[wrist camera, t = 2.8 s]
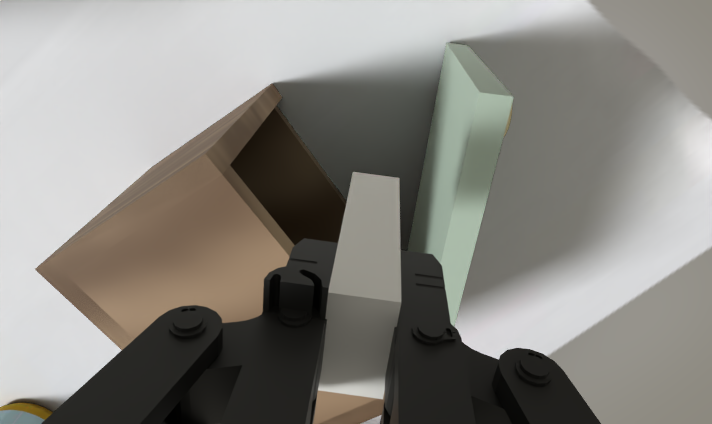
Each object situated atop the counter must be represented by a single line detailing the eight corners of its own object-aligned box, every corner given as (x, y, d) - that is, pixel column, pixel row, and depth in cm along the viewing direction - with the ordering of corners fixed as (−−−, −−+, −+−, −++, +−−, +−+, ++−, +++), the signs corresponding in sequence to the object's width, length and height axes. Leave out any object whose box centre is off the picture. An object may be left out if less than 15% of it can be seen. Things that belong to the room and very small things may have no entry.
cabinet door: (446, 42, 28) (479, 92, 17) (489, 48, 28) (548, 101, 17) (404, 267, 35) (409, 399, 24) (438, 272, 35) (459, 405, 24)
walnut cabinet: (151, 167, 32) (35, 269, 22) (272, 83, 30) (205, 153, 19) (289, 324, 38) (249, 468, 27) (403, 266, 35) (409, 402, 24)
